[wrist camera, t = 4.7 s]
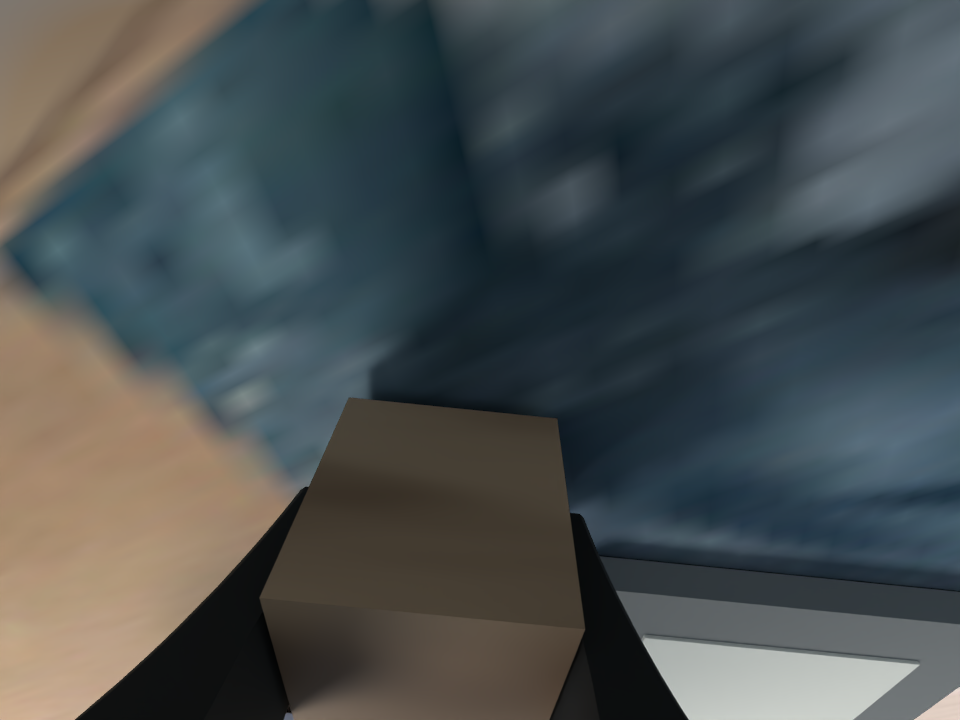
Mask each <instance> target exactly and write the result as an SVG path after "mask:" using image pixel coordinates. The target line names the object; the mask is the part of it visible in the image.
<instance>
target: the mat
mask: <svg viewBox="0 0 960 720" xmlns="http://www.w3.org/2000/svg"><path fill="white" fill-rule="evenodd" d="M600 559H601V561H602V563H603V565H604V567H605V569H606V572H607V574H608V576H609V578H610V580H611V582H612V584H613V586H614V588H615V590H616V592H617V595H618V597H619V598H620V600H621V602H622V604H623V606H624V608H625V610H626V612H627V614H628V616H629V618H630V620H631V622H632V624H633V626H634V628H635V629H636V631H637V633H638V635H639V637H640V639H641V640H642V642H643V644H644V646H645V648H646V649H647V651H648V653H649V655H650V656H651V658H652V660H653V662H654V663H655V665H656V667H657V669H658V670H659V672H660V674H661V676H662V677H663V679H664V681H665V682H666V684H667V686H668V687H669V689H670V691H671V692H672V694H673V696H674V697H675V699H676V700H677V702H678V704H679V705H680V707H681V708H682V710H683V712H684V713H685V715H686V716H687V718H688V719H689V720H914V719H915V718H917V717H918V716H920V715H921V714H922V713H924V712H925V711H926V710H928V709H929V708H931V707H932V706H933V705H935V704H936V703H938V702H939V701H940V700H942V699H943V698H944V697H946V696H947V695H949V694H950V693H951V692H953V691H954V690H955V689H957V688H958V687H960V592H955V591H945V590H935V589H925V588H915V587H905V586H895V585H885V584H874V583H864V582H854V581H844V580H834V579H824V578H814V577H804V576H794V575H784V574H773V573H763V572H753V571H743V570H733V569H723V568H713V567H703V566H693V565H683V564H673V563H662V562H652V561H642V560H632V559H622V558H612V557H602V556H600Z"/></svg>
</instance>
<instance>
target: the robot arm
mask: <svg viewBox="0 0 960 720" xmlns="http://www.w3.org/2000/svg"><path fill="white" fill-rule="evenodd" d="M308 488H309V487H305V488H303V489H302V490H300V492H299V493H298V494H297V495H296V497H295V498H294V499H293V500H292V502H291V503H290V504H289V505H288V507H287V508H286V509H285V510H284V512H283V513H282V514H281V515H280V516H279V518H278V519H277V520H276V521H275V523H274V524H273V525H272V526H271V527H270V528H269V530H268V531H267V532H266V533H265V534H264V535H263V537H262V538H261V539H260V540H259V541H258V542H257V544H256V545H255V546H254V547H253V548H252V549H251V550H250V552H249V553H248V554H247V555H246V556H245V557H244V558H243V559H242V560H241V562H240V563H239V564H238V565H237V566H236V567H235V568H234V569H233V570H232V571H231V573H230V574H229V575H228V576H227V577H226V578H225V579H224V580H223V581H222V582H221V583H220V585H219V586H218V587H217V588H216V589H215V590H214V591H213V592H212V593H211V594H210V595H209V596H208V597H207V598H206V599H205V600H204V601H203V602H202V603H201V604H200V605H199V606H198V607H197V608H196V609H195V610H194V611H193V612H192V613H191V614H190V615H189V616H188V617H187V618H186V619H185V620H184V621H183V622H182V623H181V624H180V625H179V626H178V627H177V628H176V629H175V630H174V631H173V632H172V633H171V634H170V635H169V636H168V637H167V638H166V639H165V640H164V641H163V642H162V643H161V644H160V645H159V646H158V647H157V648H155V649H154V650H153V651H152V652H151V653H150V654H149V655H148V656H147V657H146V658H145V659H144V660H143V661H141V662H140V663H139V664H138V665H137V666H136V667H135V668H134V669H133V670H132V671H130V672H129V673H128V674H127V675H126V676H125V677H124V678H123V679H122V680H121V681H119V682H118V683H117V684H116V685H115V686H114V687H113V688H111V689H110V690H109V691H108V692H107V693H106V694H104V695H103V696H102V697H101V698H100V699H99V700H97V701H96V702H95V703H94V704H93V705H92V706H90V707H89V708H88V709H87V710H86V711H85V712H83V713H82V714H81V715H80V716H79V717H78V718H76V719H75V720H294V719H293V715H292V713H286V712H287V709H288V706H289V701H288V698H287V694H286V691H285V687H284V683H283V680H282V676H281V673H280V669H279V666H278V662H277V659H276V655H275V651H274V648H273V644H272V641H271V637H270V634H269V630H268V627H267V623H266V620H265V616H264V612H263V609H262V605H261V602H260V596H261V593H262V591H263V589H264V587H265V584H266V582H267V580H268V578H269V575H270V573H271V571H272V569H273V566H274V564H275V562H276V560H277V558H278V555H279V553H280V551H281V549H282V546H283V544H284V542H285V540H286V537H287V535H288V533H289V531H290V528H291V526H292V524H293V522H294V519H295V517H296V515H297V513H298V511H299V508H300V506H301V504H302V502H303V499H304V497H305V495H306V493H307V490H308ZM570 519H571V526H572V534H573V541H574V549H575V556H576V564H577V571H578V579H579V586H580V594H581V601H582V609H583V616H584V624H585V631H584V634H583V636H582V639H581V641H580V644H579V646H578V649H577V651H576V654H575V656H574V659H573V661H572V664H571V666H570V669H569V671H568V674H567V676H566V679H565V682H564V684H563V687H562V689H561V692H560V694H559V697H558V699H557V702H556V704H555V707H554V709H553V712H552V714H551V717H550V719H549V720H689V719H688V718H687V716H686V715H685V713H684V712H683V710H682V708H681V707H680V705H679V704H678V702H677V700H676V699H675V697H674V696H673V694H672V692H671V691H670V689H669V687H668V686H667V684H666V682H665V681H664V679H663V677H662V676H661V674H660V672H659V670H658V669H657V667H656V665H655V663H654V662H653V660H652V658H651V656H650V655H649V653H648V651H647V649H646V648H645V646H644V644H643V642H642V640H641V639H640V637H639V635H638V633H637V631H636V629H635V628H634V626H633V624H632V622H631V620H630V618H629V616H628V614H627V612H626V610H625V608H624V606H623V604H622V602H621V600H620V598H619V597H618V595H617V592H616V590H615V588H614V586H613V584H612V582H611V580H610V578H609V576H608V574H607V572H606V569H605V567H604V565H603V563H602V561H601V559H600V556H599V554H598V552H597V549H596V547H595V545H594V542H593V540H592V538H591V535H590V533H589V530H588V528H587V525H586V523H585V520H584V518H583V517H582V516H581V515H580V514H575V513H570Z"/></svg>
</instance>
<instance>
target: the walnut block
mask: <svg viewBox="0 0 960 720" xmlns="http://www.w3.org/2000/svg"><path fill="white" fill-rule="evenodd" d="M260 602H261V605H262V609H263V612H264V616H265V620H266V623H267V627H268V630H269V634H270V637H271V641H272V644H273V648H274V651H275V655H276V659H277V662H278V666H279V669H280V673H281V676H282V680H283V683H284V687H285V691H286V694H287V698H288V701H289V705H290V708H291V712H292V715H293V719H294V720H549V719H550V717H551V714H552V712H553V709H554V707H555V704H556V702H557V699H558V697H559V694H560V692H561V689H562V687H563V684H564V682H565V679H566V676H567V674H568V671H569V669H570V666H571V664H572V661H573V659H574V656H575V654H576V651H577V649H578V646H579V644H580V641H581V639H582V636H583V634H584V631H585V624H584V616H583V609H582V601H581V594H580V586H579V579H578V571H577V564H576V556H575V549H574V541H573V534H572V526H571V519H570V511H569V504H568V496H567V489H566V481H565V474H564V466H563V459H562V451H561V444H560V436H559V429H558V421H557V418H547V417H537V416H527V415H517V414H508V413H498V412H488V411H478V410H468V409H458V408H448V407H438V406H428V405H418V404H409V403H399V402H389V401H379V400H369V399H359V398H349V399H348V401H347V403H346V405H345V408H344V410H343V412H342V414H341V416H340V419H339V421H338V423H337V425H336V428H335V430H334V432H333V434H332V437H331V439H330V441H329V443H328V446H327V448H326V450H325V452H324V455H323V457H322V459H321V461H320V463H319V466H318V468H317V470H316V472H315V475H314V477H313V479H312V481H311V484H310V486H309V488H308V490H307V493H306V495H305V497H304V499H303V502H302V504H301V506H300V508H299V511H298V513H297V515H296V517H295V519H294V522H293V524H292V526H291V528H290V531H289V533H288V535H287V537H286V540H285V542H284V544H283V546H282V549H281V551H280V553H279V555H278V558H277V560H276V562H275V564H274V566H273V569H272V571H271V573H270V575H269V578H268V580H267V582H266V584H265V587H264V589H263V591H262V593H261V596H260Z"/></svg>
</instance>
